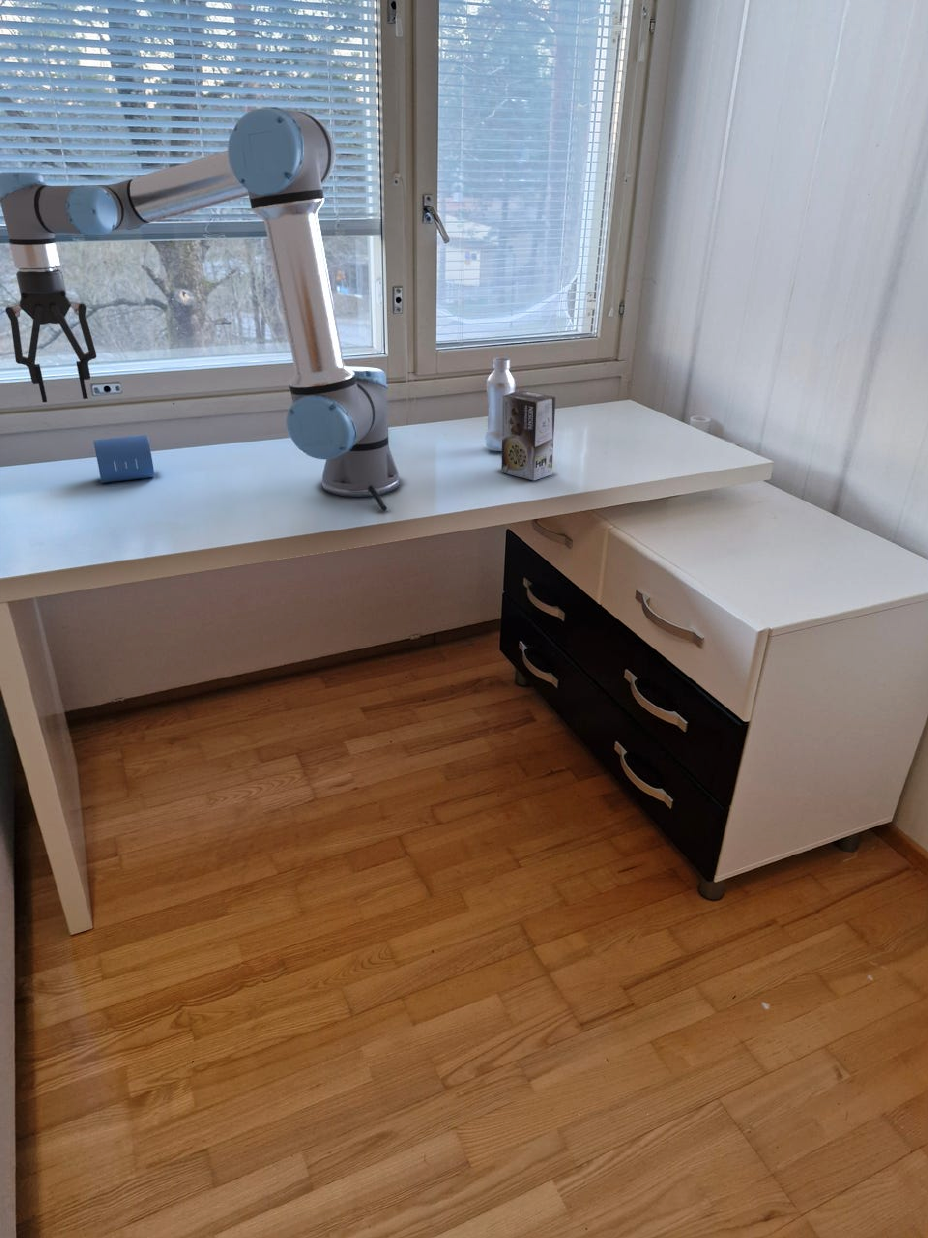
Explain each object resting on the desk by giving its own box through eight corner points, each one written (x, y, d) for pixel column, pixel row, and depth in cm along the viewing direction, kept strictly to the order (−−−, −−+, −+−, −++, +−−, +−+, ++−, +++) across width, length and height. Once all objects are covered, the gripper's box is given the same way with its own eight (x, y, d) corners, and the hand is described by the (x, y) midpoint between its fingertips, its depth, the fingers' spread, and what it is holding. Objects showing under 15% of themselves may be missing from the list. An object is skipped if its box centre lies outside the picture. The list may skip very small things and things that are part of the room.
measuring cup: (151, 469, 182) (144, 429, 177) (155, 482, 175) (149, 441, 171) (100, 475, 178) (92, 435, 174) (102, 488, 171) (94, 447, 167)
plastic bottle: (519, 448, 196) (522, 358, 187) (504, 456, 191) (507, 363, 182) (494, 444, 199) (496, 354, 190) (479, 451, 194) (480, 359, 185)
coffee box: (553, 474, 180) (557, 396, 173) (533, 481, 176) (537, 401, 169) (519, 465, 186) (521, 388, 178) (499, 471, 182) (501, 394, 174)
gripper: (95, 265, 161) (117, 390, 172) (-22, 268, 154) (9, 399, 165) (97, 269, 155) (120, 398, 166) (-24, 273, 148) (8, 408, 159)
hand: (65, 398), depth 165 cm, fingers open, 6 cm apart
